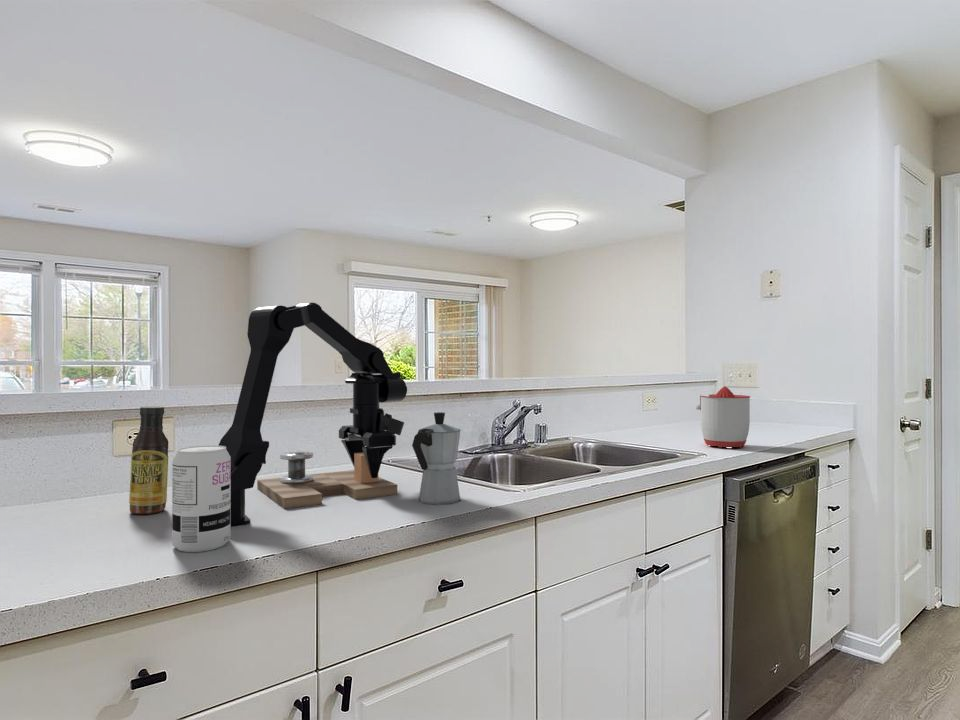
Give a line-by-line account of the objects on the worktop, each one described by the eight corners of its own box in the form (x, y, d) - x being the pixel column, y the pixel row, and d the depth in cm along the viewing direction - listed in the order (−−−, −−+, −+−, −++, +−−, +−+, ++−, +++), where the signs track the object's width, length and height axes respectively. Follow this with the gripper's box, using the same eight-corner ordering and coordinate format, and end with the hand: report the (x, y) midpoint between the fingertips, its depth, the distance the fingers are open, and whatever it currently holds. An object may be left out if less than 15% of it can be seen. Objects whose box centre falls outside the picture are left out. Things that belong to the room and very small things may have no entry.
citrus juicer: (710, 441, 215) (710, 384, 215) (759, 447, 202) (759, 386, 202) (685, 445, 205) (685, 386, 205) (735, 451, 192) (735, 387, 192)
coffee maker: (439, 491, 133) (439, 409, 133) (473, 496, 129) (474, 410, 129) (396, 505, 120) (396, 414, 120) (432, 511, 116) (432, 416, 116)
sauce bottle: (124, 516, 112) (125, 408, 112) (134, 508, 118) (134, 405, 118) (164, 514, 113) (164, 407, 113) (171, 506, 119) (171, 405, 119)
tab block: (378, 481, 134) (378, 454, 134) (361, 483, 132) (361, 455, 132) (371, 478, 138) (371, 451, 138) (354, 480, 136) (354, 453, 136)
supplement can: (175, 540, 97) (175, 446, 97) (231, 535, 100) (231, 443, 100) (168, 556, 90) (169, 453, 90) (229, 550, 92) (229, 450, 92)
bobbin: (317, 481, 134) (317, 454, 134) (285, 485, 130) (285, 457, 130) (307, 476, 140) (307, 450, 140) (276, 480, 136) (276, 453, 136)
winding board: (397, 493, 131) (397, 484, 131) (283, 508, 118) (283, 498, 118) (359, 477, 149) (359, 469, 149) (257, 488, 136) (257, 479, 136)
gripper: (418, 405, 132) (418, 477, 132) (382, 400, 147) (382, 465, 147) (369, 407, 126) (369, 483, 126) (338, 401, 141) (337, 469, 141)
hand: (366, 474), depth 135 cm, fingers open, 9 cm apart
